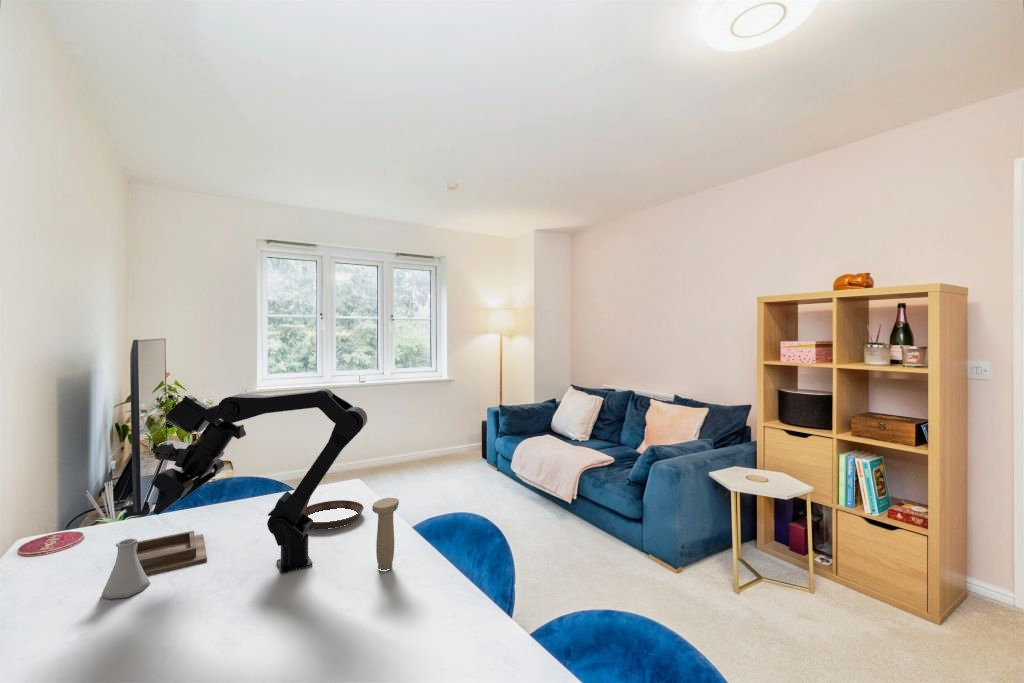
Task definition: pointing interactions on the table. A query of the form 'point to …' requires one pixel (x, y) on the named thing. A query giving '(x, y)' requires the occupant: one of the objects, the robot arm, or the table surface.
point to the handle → (385, 531)
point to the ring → (334, 505)
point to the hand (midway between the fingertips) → (168, 505)
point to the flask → (126, 573)
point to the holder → (171, 552)
